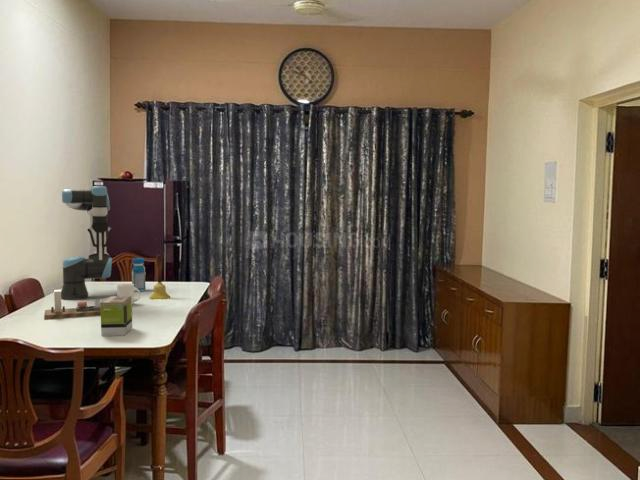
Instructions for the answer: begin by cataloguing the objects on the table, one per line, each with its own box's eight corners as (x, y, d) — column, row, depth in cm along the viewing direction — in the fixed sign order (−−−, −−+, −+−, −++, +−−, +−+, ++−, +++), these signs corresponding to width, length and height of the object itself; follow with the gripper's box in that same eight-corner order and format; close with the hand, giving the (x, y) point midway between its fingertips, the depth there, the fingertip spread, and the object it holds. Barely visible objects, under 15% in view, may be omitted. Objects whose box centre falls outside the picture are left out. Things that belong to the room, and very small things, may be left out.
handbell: (173, 296, 352) (173, 254, 350) (166, 299, 339) (165, 256, 338) (153, 295, 353) (153, 253, 351) (145, 299, 341) (144, 255, 339)
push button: (77, 306, 294) (77, 303, 293) (77, 305, 298) (77, 301, 298) (87, 306, 295) (87, 302, 295) (86, 304, 299) (86, 301, 299)
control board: (44, 319, 284) (44, 310, 283) (45, 313, 297) (45, 305, 296) (123, 314, 298) (123, 305, 297) (121, 309, 311) (121, 300, 310)
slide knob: (93, 309, 297) (93, 300, 296) (93, 308, 300) (92, 299, 300) (101, 309, 298) (101, 299, 298) (101, 307, 302) (101, 298, 302)
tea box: (109, 328, 266) (109, 295, 265) (133, 328, 267) (132, 295, 266) (100, 336, 251) (99, 301, 250) (124, 336, 252) (124, 301, 251)
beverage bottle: (138, 292, 365) (137, 259, 364) (128, 290, 369) (128, 258, 368) (148, 290, 372) (148, 258, 371) (139, 289, 377) (139, 257, 375)
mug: (138, 305, 321) (138, 286, 320) (115, 305, 320) (115, 286, 319) (142, 302, 329) (141, 283, 328) (119, 303, 328) (119, 283, 327)
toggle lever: (54, 310, 291) (54, 291, 286) (54, 309, 292) (54, 290, 287) (61, 310, 292) (60, 291, 288) (61, 308, 293) (60, 289, 289)
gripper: (87, 216, 310) (87, 261, 313) (113, 215, 315) (114, 260, 318) (86, 215, 317) (87, 259, 320) (112, 214, 322) (112, 258, 325)
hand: (100, 259), depth 319 cm, fingers closed
